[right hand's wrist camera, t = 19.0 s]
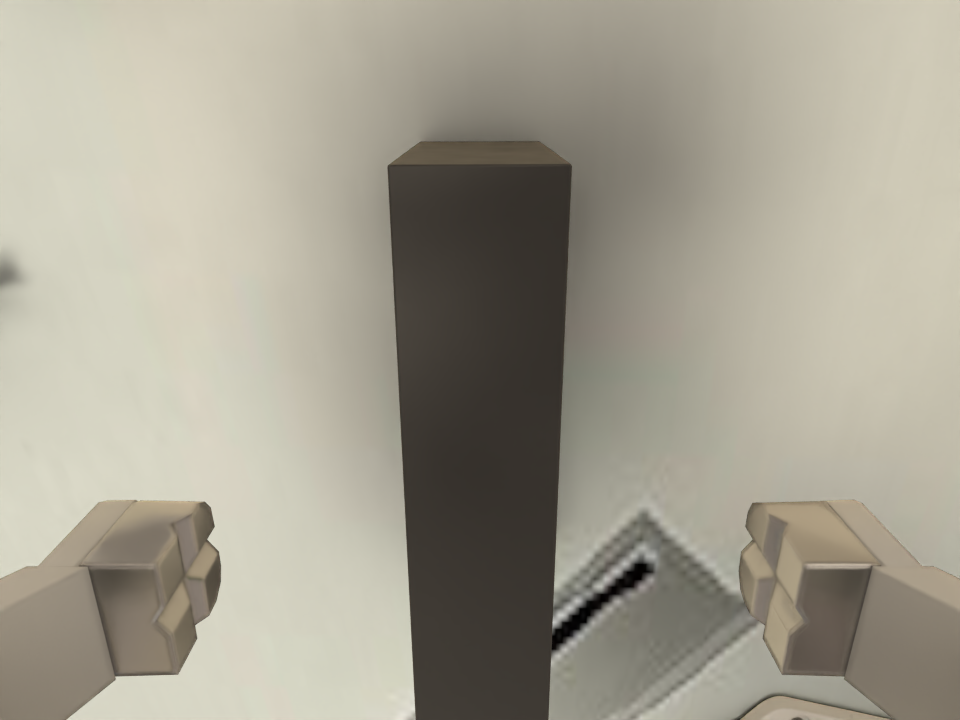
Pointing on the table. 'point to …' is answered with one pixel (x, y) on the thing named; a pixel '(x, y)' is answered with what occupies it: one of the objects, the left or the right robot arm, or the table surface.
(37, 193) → the table surface
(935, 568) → the right robot arm
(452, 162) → the box
